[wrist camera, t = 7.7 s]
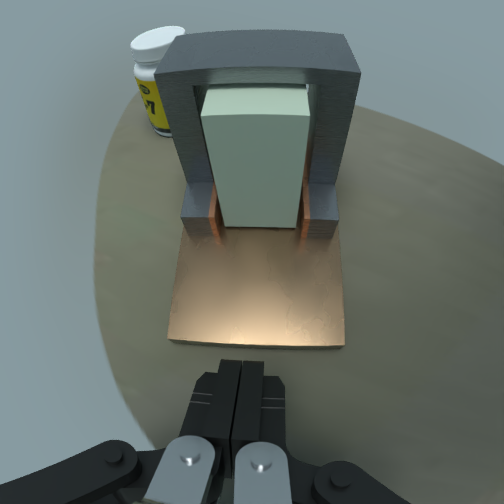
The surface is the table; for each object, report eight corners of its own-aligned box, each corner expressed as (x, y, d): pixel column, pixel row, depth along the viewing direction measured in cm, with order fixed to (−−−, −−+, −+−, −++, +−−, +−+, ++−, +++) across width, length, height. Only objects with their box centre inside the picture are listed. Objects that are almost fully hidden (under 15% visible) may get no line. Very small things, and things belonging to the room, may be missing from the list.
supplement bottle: (148, 115, 25) (122, 38, 18) (197, 97, 26) (181, 18, 18) (159, 146, 23) (128, 58, 16) (214, 126, 24) (199, 35, 16)
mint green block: (295, 227, 18) (310, 115, 10) (224, 226, 18) (200, 115, 11) (291, 132, 21) (297, 33, 14) (235, 131, 21) (224, 33, 14)
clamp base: (339, 349, 16) (433, 273, 6) (173, 342, 16) (65, 263, 7) (323, 143, 22) (341, 18, 13) (205, 141, 23) (180, 19, 14)
